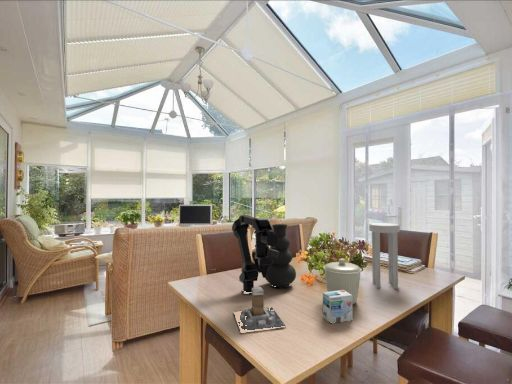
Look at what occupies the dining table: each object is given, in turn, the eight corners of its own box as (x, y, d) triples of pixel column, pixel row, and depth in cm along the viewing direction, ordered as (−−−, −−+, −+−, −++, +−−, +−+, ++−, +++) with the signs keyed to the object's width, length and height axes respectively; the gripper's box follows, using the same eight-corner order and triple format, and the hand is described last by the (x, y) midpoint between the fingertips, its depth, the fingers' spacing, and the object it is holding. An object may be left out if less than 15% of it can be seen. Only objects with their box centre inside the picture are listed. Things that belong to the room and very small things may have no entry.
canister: (345, 292, 145) (344, 253, 145) (370, 305, 128) (370, 260, 128) (316, 297, 138) (315, 256, 138) (339, 312, 121) (338, 264, 121)
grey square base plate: (233, 313, 120) (233, 305, 120) (272, 309, 124) (272, 301, 124) (240, 333, 103) (240, 324, 103) (285, 328, 107) (285, 319, 107)
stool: (372, 288, 151) (372, 225, 152) (368, 279, 166) (367, 222, 167) (403, 290, 148) (402, 226, 148) (395, 281, 163) (395, 223, 163)
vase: (302, 288, 152) (301, 225, 152) (272, 293, 145) (271, 227, 145) (286, 279, 169) (286, 222, 169) (259, 282, 162) (258, 224, 162)
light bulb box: (330, 324, 110) (330, 297, 110) (322, 317, 116) (321, 291, 116) (353, 320, 113) (353, 294, 113) (344, 314, 119) (343, 289, 119)
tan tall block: (251, 316, 115) (251, 288, 115) (261, 315, 116) (261, 287, 116) (254, 320, 111) (253, 291, 111) (263, 319, 112) (263, 290, 112)
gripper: (282, 245, 127) (283, 279, 126) (272, 239, 145) (272, 269, 144) (259, 247, 124) (260, 281, 124) (251, 240, 142) (252, 270, 142)
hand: (261, 275), depth 134 cm, fingers open, 9 cm apart
